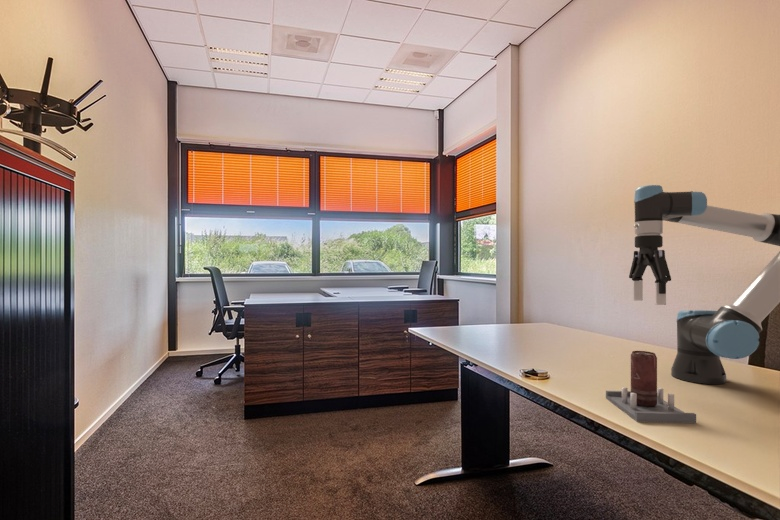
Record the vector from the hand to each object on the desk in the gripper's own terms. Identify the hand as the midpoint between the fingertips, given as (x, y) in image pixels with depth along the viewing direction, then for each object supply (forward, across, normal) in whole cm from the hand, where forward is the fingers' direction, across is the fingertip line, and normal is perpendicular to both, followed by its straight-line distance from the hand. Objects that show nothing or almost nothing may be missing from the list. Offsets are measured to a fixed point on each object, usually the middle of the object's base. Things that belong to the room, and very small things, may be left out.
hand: (648, 302), depth 133 cm
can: (+26, +20, -11) cm, 34 cm away
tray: (+27, +21, -11) cm, 36 cm away
